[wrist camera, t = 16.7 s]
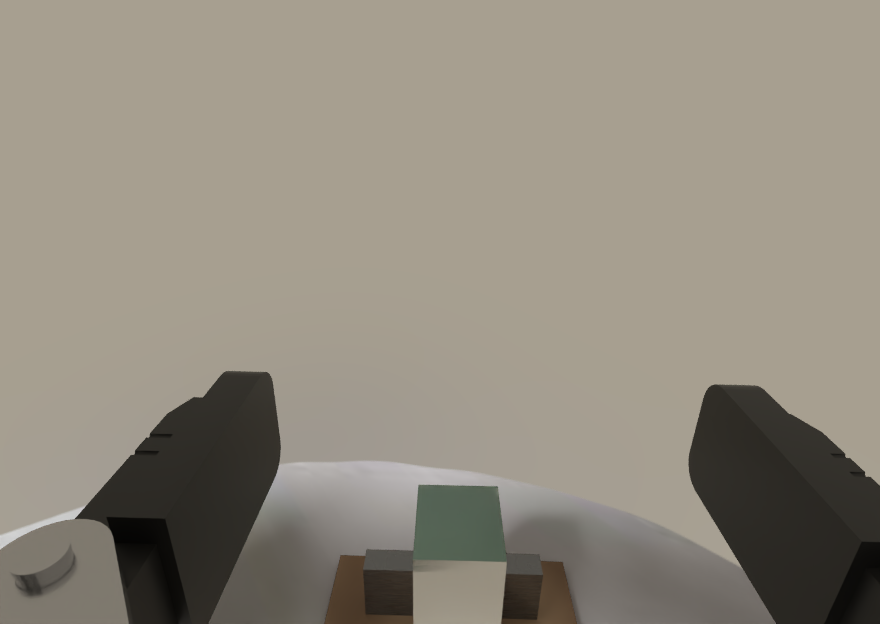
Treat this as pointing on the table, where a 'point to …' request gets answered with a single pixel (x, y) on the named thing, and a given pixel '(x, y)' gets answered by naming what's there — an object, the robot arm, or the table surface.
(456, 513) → the block
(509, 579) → the block
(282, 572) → the table surface
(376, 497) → the table surface
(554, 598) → the mounting board
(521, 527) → the table surface
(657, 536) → the table surface
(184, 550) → the robot arm
